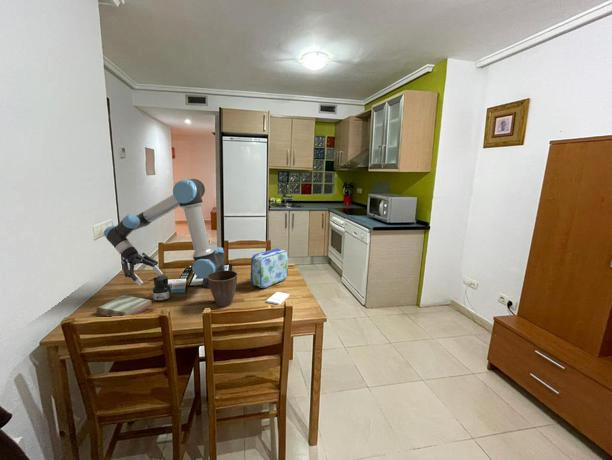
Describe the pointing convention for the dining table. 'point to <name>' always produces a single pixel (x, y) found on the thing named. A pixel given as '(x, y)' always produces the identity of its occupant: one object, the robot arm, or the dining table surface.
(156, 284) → the ink bottle
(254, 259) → the lunch box
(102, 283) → the dining table surface
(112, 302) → the mat platform
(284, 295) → the external hard drive
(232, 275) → the plant pot
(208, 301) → the dining table surface
